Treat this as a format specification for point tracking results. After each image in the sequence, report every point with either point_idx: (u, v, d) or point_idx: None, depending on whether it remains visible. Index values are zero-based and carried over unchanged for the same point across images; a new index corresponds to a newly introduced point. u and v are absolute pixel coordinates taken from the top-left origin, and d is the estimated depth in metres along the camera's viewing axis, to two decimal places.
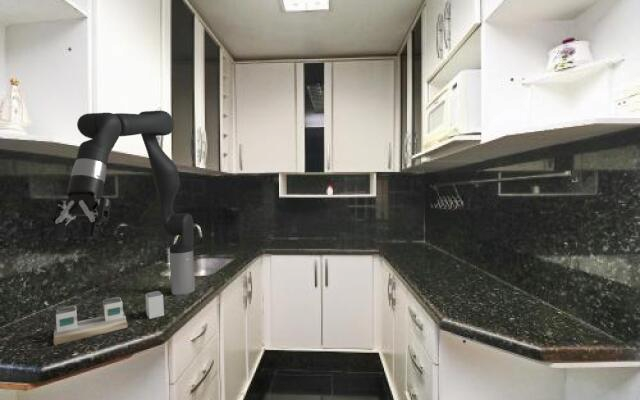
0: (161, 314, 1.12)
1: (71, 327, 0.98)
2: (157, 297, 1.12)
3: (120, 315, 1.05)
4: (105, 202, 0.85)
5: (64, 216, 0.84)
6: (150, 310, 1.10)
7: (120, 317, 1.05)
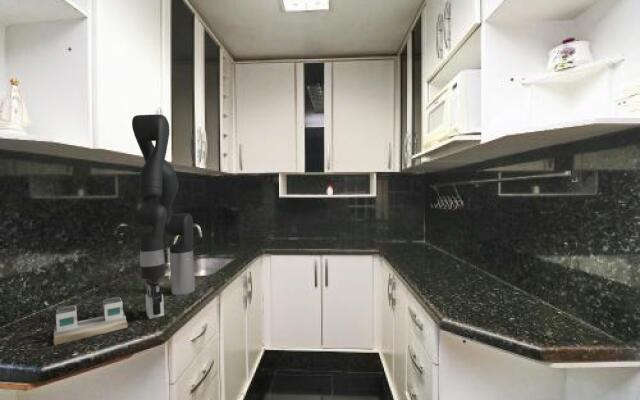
0: (161, 314, 1.12)
1: (71, 327, 0.98)
2: (157, 297, 1.12)
3: (120, 315, 1.05)
4: (155, 291, 1.08)
5: None
6: (150, 310, 1.10)
7: (120, 317, 1.05)
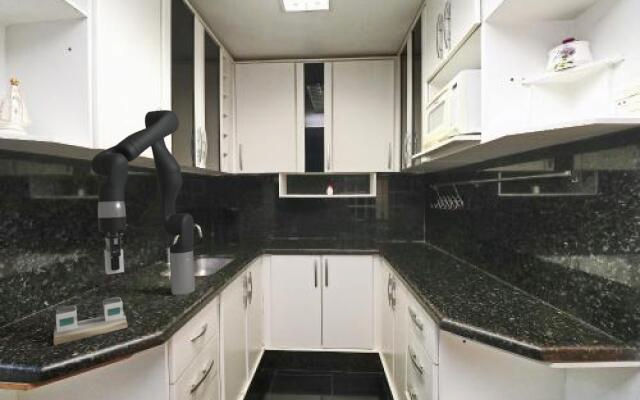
0: (121, 270, 1.05)
1: (71, 327, 0.98)
2: (116, 251, 1.04)
3: (120, 315, 1.05)
4: (113, 242, 1.00)
5: None
6: (108, 265, 1.03)
7: (120, 317, 1.05)
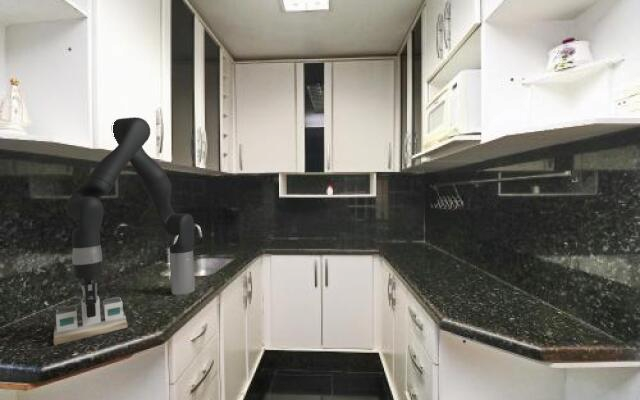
0: (97, 321, 1.01)
1: (71, 327, 0.98)
2: None
3: (120, 315, 1.05)
4: (87, 289, 0.97)
5: None
6: (84, 316, 0.99)
7: (120, 317, 1.05)
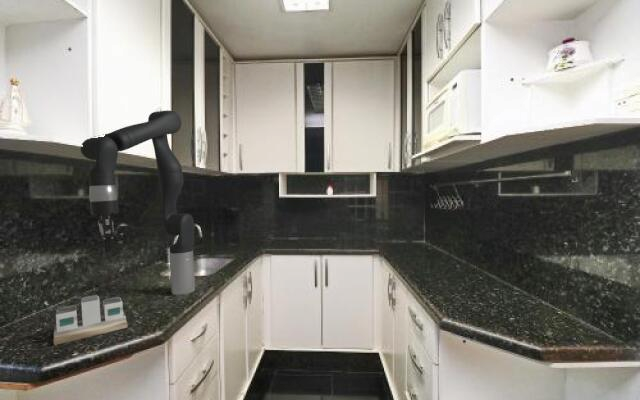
0: (97, 321, 1.01)
1: (71, 327, 0.98)
2: (92, 302, 1.01)
3: (120, 315, 1.05)
4: (104, 223, 1.02)
5: None
6: (84, 316, 0.99)
7: (120, 317, 1.05)
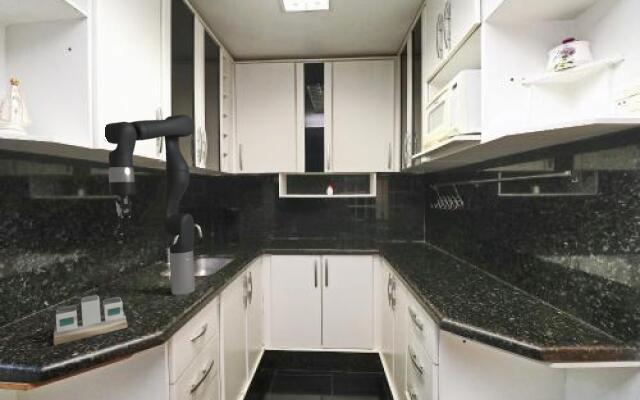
0: (97, 321, 1.01)
1: (71, 327, 0.98)
2: (92, 302, 1.01)
3: (120, 315, 1.05)
4: (123, 202, 1.07)
5: (118, 212, 1.15)
6: (84, 316, 0.99)
7: (120, 317, 1.05)
